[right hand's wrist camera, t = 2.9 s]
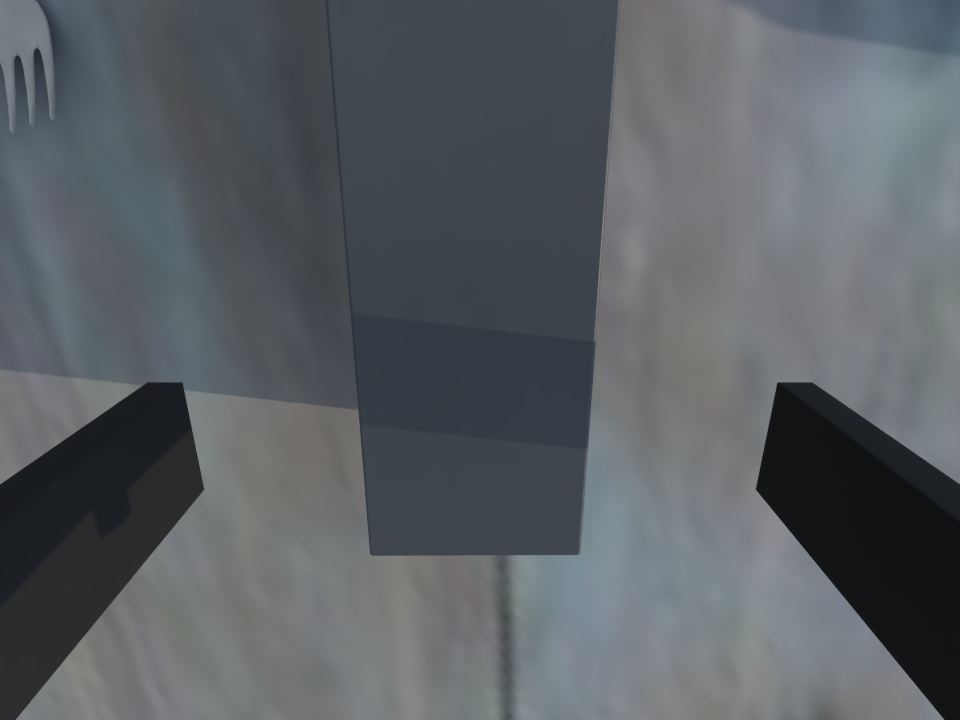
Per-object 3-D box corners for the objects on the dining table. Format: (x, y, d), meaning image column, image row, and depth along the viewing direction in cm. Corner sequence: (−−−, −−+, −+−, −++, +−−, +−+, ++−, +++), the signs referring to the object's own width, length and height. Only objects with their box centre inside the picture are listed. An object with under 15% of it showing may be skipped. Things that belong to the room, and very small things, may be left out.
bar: (543, 415, 23) (580, 555, 15) (407, 416, 23) (370, 557, 15) (581, -476, 14) (717, -1305, 6) (365, -476, 14) (219, -1313, 6)
